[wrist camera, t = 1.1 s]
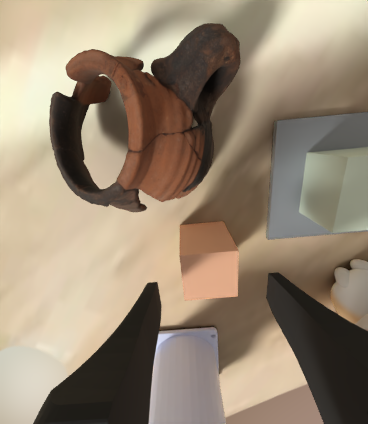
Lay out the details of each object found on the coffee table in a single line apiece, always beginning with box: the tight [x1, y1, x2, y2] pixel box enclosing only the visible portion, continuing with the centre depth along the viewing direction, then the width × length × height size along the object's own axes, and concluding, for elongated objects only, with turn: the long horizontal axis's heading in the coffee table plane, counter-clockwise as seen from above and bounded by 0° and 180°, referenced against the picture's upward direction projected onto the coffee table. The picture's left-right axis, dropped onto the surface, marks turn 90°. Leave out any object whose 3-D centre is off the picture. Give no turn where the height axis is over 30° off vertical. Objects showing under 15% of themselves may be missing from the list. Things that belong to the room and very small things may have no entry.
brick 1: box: [180, 221, 239, 301], centre depth 16 cm, size 4×4×5 cm
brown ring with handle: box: [49, 23, 240, 212], centre depth 12 cm, size 12×10×8 cm
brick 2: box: [299, 147, 368, 233], centre depth 14 cm, size 5×5×4 cm
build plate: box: [266, 112, 368, 240], centre depth 16 cm, size 10×10×1 cm
